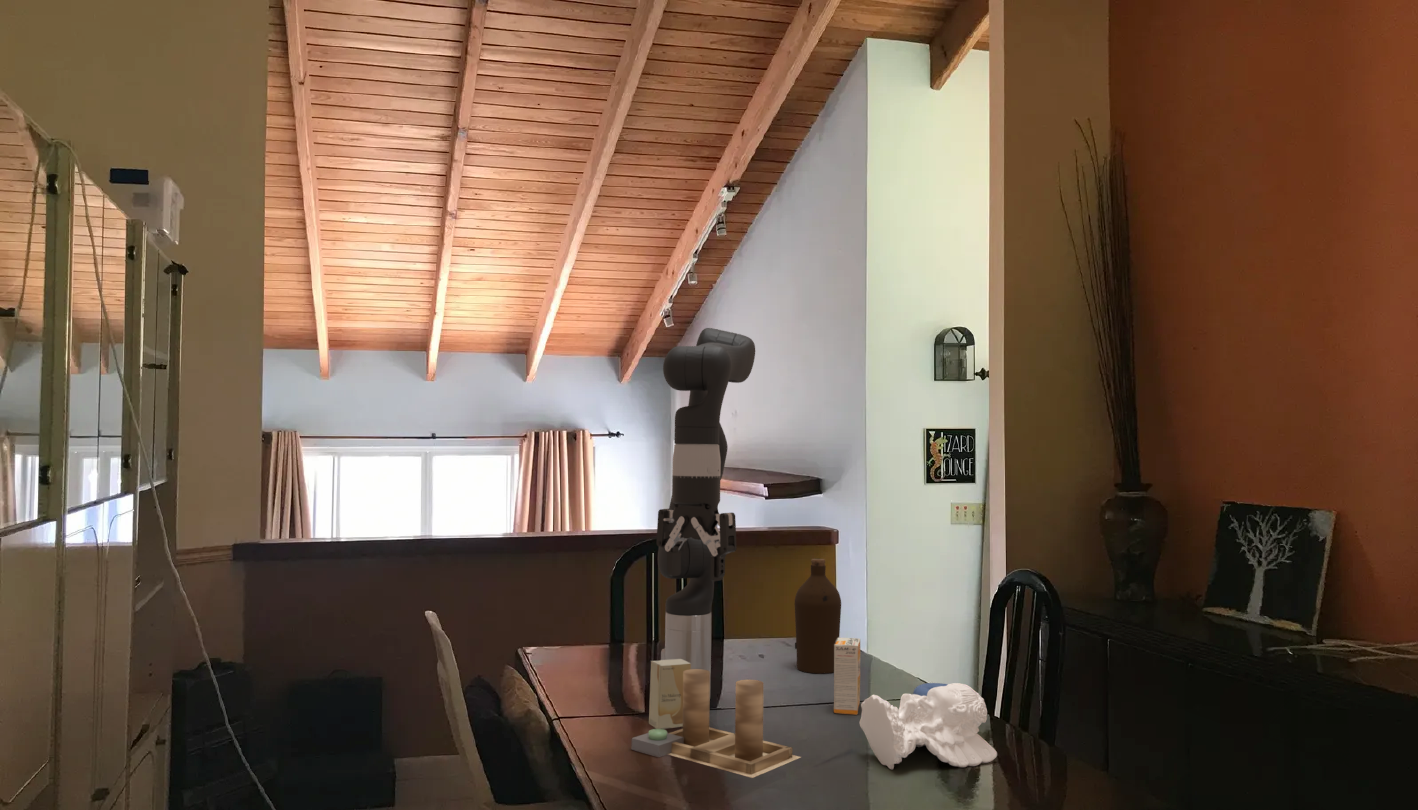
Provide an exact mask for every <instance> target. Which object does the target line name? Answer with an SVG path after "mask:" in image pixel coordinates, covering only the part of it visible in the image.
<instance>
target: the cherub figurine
mask: <svg viewBox="0 0 1418 810" xmlns="http://www.w3.org/2000/svg"><path fill="white" fill-rule="evenodd" d="M947 684H948V685H947V686H940V687H935V688H932V689H930V690H929V691H928V693H927V696H920V695H916V694H913V693H912V694H911V693H907V692H906V693H903V694H902V695H901V696H900V701H899V702H900V703H899V708H898V707H897V706H894V704H891V703H890V702H889V701H888V700H885V699H883V698H881V696H879V695H877V694H872V695H870V696H869V697H868V698H865V699H864V701H862V702H861V704H860V707H861V716H860V720H859V726H860V727H859V728H860V729H861V730H862V731H863V733H864V736H865V737H866V739H867V742H868V745H869V746H870V749H871V751H872V752H873V754H874V756H875V757H876V758H877V760H878V761H879V763H880V764H881V765H882V766H887V768H888V769H889V770H894V767H895V764H896V765H897V764H900V763H902V761H903V758H904V759H905V758H908V756H909V755H910V754H911V753H913V752H914V751H915V749H916V747H918V748H923V747H926V749H927V751H929V752H930V753H931V754H932V755H934V756H936V757H937V759H938V760H939V761H941V762H943V763H947V764H949V766H952V767H958V768H966V767H977V766H979V765H980V764H981V763H983V764H984V763H985V764H987V763H990V762H992V761H994V760H995V759H996V758H997V756H998V752H997V751H996V749H995V747H993V746H991V745H990V743H988V742H987V741H986V740H985V739H984V738H983V737H982V736H981V735H980V734H978V732H980V729H979V727H980V725H982V724H983V723H984V724H985V723H986V721H987V719H988V709H987V705H986V702H985V699H984V698H983V697H982V696H981V695H980V693H979V692H977V691H975V690H974V689H973V688H972V687H971V686H969V685H967V684H965V683H959V682H953V683H947Z"/></svg>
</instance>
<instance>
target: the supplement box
mask: <svg viewBox="0 0 1418 810" xmlns="http://www.w3.org/2000/svg"><path fill="white" fill-rule="evenodd" d="M860 697H861V638H858V637H839V638H837V640H836V642H835V645H834V672H833V713H834V714H840V715H841V714H842V715H854V716H855V715H856V716H857V715H858V713H859V707H860V705H861V704H860V701H861V700H860V699H861V698H860Z"/></svg>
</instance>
